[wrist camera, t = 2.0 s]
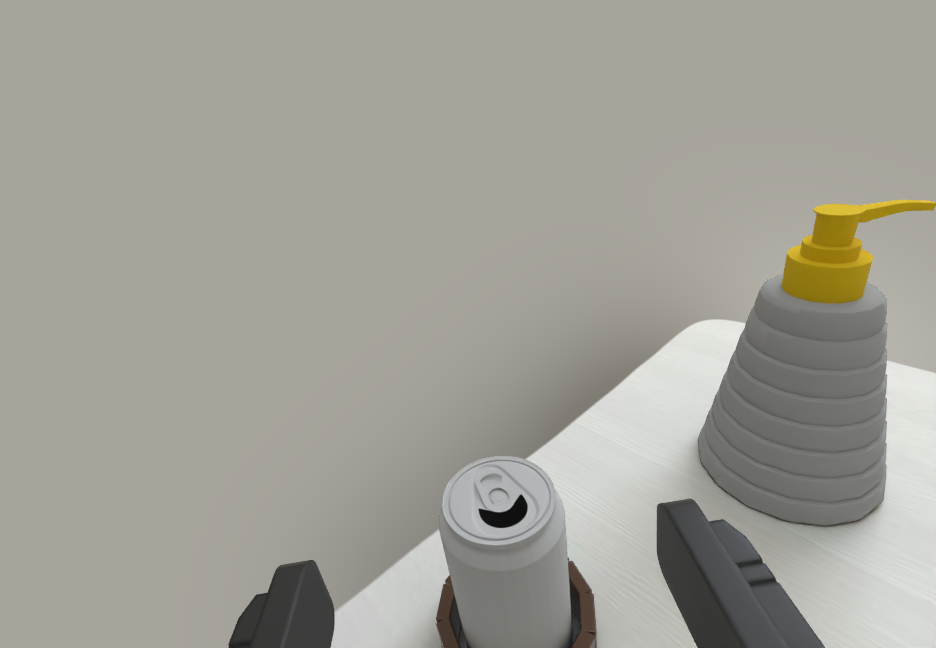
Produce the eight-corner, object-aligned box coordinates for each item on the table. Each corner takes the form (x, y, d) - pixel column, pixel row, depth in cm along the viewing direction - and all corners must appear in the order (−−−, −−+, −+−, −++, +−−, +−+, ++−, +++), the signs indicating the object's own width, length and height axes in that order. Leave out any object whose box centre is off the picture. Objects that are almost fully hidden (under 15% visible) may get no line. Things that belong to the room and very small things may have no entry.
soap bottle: (930, 527, 32) (1061, 227, 23) (728, 528, 34) (773, 252, 24) (826, 409, 43) (886, 174, 34) (678, 415, 45) (696, 194, 35)
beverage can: (486, 716, 26) (453, 572, 20) (455, 606, 31) (422, 470, 26) (593, 670, 27) (588, 522, 22) (545, 573, 33) (531, 436, 27)
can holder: (431, 715, 26) (421, 685, 25) (459, 565, 34) (453, 536, 33) (602, 735, 25) (601, 705, 23) (590, 572, 32) (589, 542, 31)
